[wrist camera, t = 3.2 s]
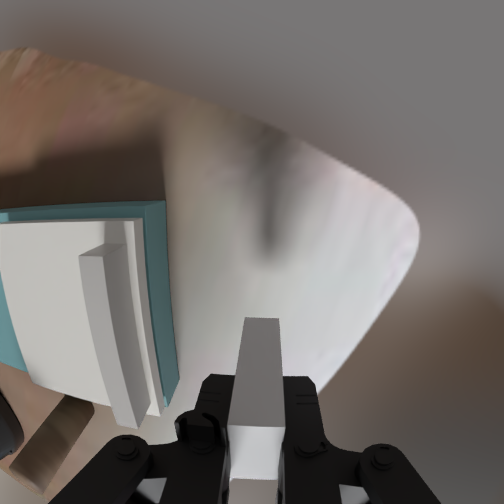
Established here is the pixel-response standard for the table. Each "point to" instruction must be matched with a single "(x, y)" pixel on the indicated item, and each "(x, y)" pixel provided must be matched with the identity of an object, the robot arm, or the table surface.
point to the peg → (51, 443)
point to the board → (156, 263)
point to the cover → (84, 310)
